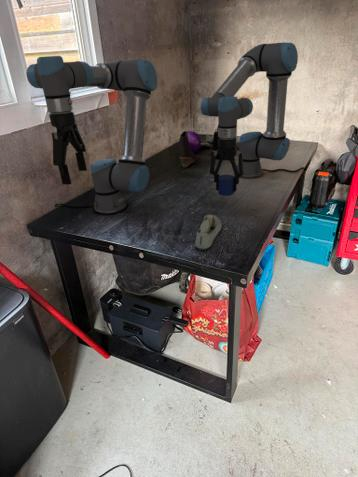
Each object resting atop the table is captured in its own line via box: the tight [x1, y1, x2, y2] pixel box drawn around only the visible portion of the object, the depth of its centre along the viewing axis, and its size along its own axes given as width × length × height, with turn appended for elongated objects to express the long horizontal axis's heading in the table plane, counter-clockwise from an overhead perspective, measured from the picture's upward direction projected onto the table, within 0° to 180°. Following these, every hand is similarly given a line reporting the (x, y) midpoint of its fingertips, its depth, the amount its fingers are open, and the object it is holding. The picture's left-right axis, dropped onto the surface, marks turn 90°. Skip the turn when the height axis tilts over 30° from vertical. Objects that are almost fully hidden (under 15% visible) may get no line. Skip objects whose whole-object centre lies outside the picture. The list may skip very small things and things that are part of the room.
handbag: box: [211, 126, 220, 159], centre depth 219 cm, size 21×9×25 cm, turn 148°
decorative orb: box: [178, 130, 201, 154], centre depth 230 cm, size 15×15×15 cm
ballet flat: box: [194, 214, 223, 251], centre depth 128 cm, size 8×24×8 cm, turn 163°
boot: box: [178, 130, 197, 169], centre depth 209 cm, size 9×24×20 cm, turn 168°
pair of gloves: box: [199, 134, 214, 149], centre depth 251 cm, size 30×26×5 cm
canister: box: [217, 174, 235, 197], centre depth 145 cm, size 7×7×7 cm
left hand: (75, 177), depth 114 cm, fingers open, 13 cm apart
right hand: (226, 189), depth 146 cm, fingers closed on canister, 7 cm apart
